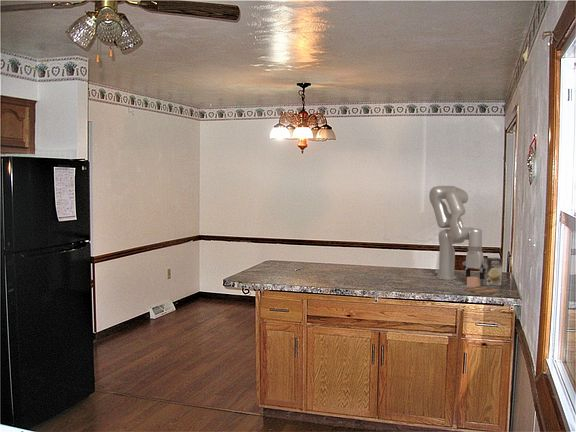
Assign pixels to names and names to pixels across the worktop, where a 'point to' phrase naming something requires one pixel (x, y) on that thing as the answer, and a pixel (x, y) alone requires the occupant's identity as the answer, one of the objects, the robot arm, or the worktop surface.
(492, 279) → the coffee box
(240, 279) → the worktop surface
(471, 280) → the cube
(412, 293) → the worktop surface
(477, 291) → the walnut board
